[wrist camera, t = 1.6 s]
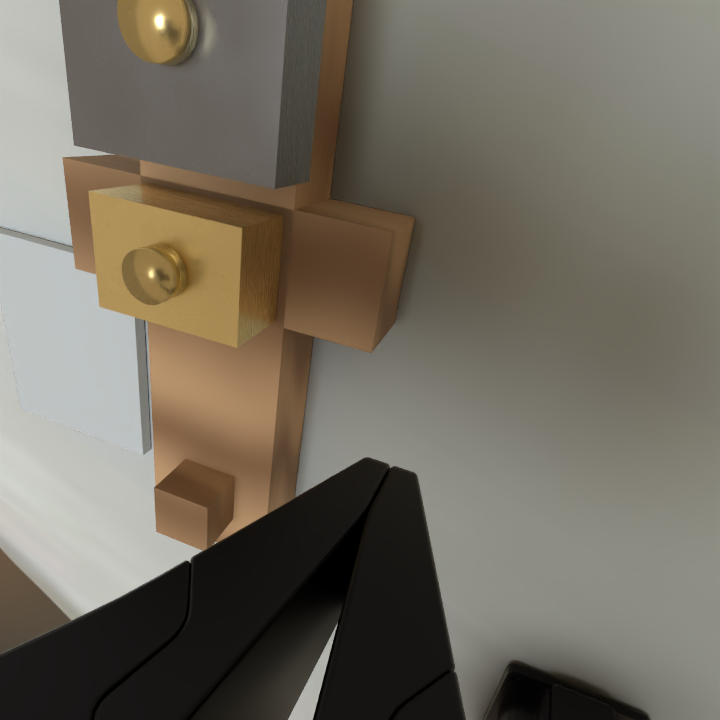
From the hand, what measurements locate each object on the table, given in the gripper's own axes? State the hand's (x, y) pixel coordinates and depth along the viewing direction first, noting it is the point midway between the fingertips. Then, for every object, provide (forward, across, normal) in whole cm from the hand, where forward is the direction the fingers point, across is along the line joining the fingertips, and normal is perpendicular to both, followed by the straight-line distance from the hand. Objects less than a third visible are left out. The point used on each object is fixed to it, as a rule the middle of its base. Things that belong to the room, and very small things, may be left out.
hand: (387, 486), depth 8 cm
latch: (+8, +8, 0) cm, 12 cm away
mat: (+11, +18, +7) cm, 23 cm away
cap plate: (+8, +8, -6) cm, 13 cm away
